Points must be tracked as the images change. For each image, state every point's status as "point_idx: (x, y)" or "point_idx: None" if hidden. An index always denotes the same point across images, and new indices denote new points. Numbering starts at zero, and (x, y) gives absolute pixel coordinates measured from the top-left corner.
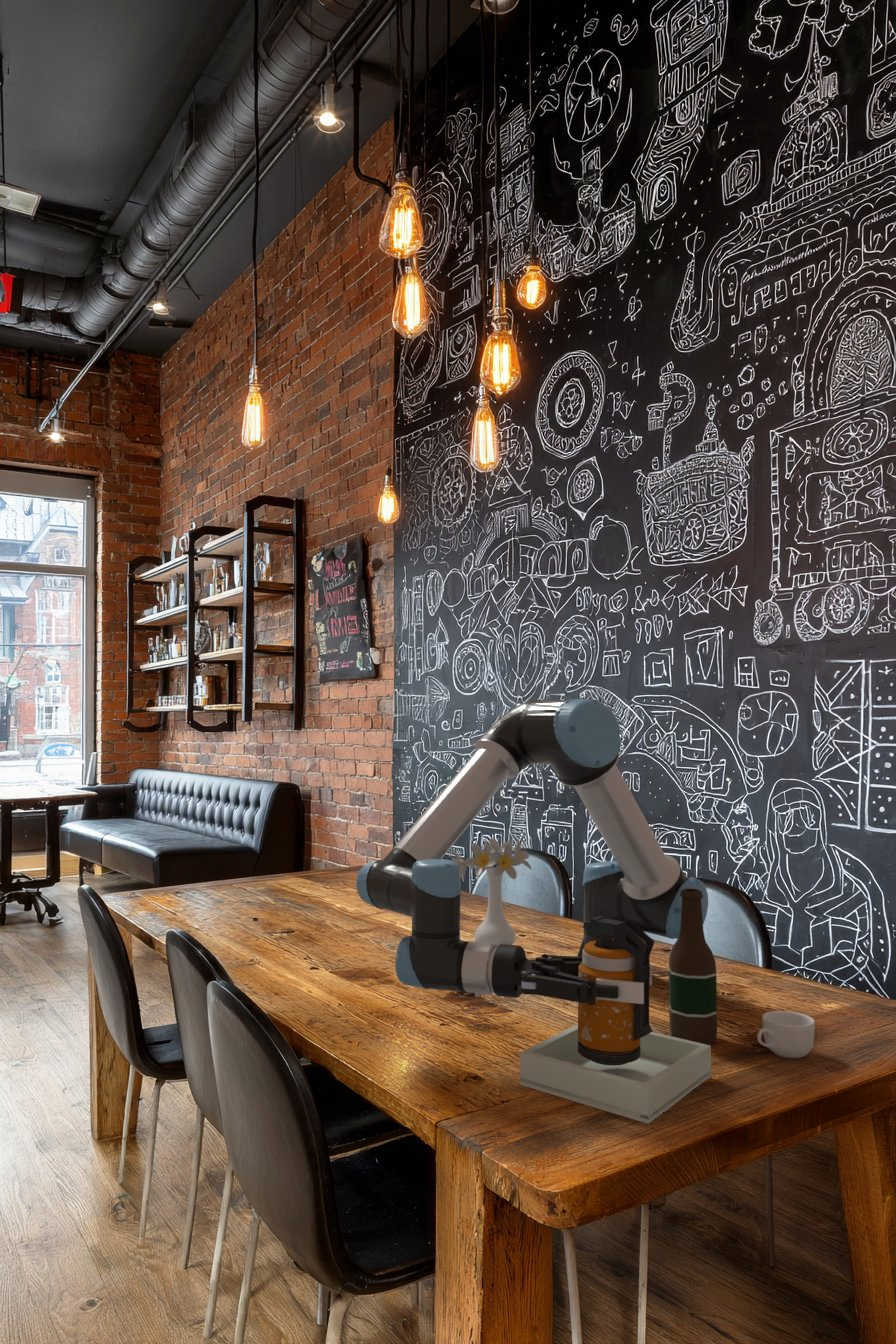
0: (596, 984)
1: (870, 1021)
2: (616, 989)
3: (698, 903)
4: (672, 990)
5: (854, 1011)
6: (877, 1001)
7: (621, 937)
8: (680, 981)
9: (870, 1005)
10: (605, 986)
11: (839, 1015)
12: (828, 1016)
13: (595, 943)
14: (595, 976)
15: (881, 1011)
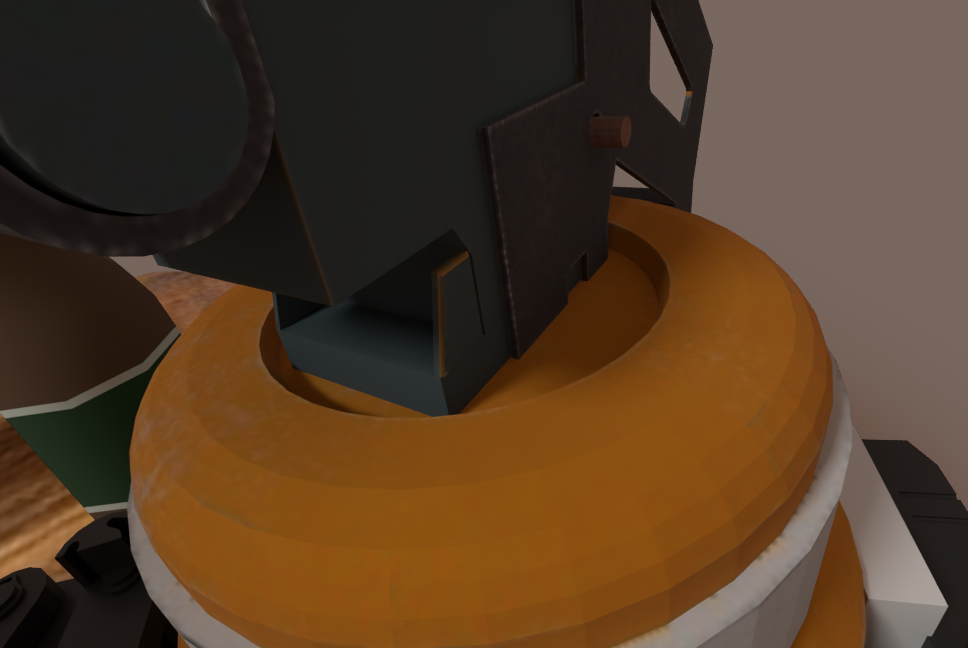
0: (938, 631)
1: (223, 281)
2: (910, 454)
3: None
4: (111, 450)
5: (173, 293)
6: (147, 276)
7: (634, 66)
8: (130, 398)
9: (159, 281)
10: (941, 532)
11: (181, 305)
12: (179, 314)
13: (344, 414)
14: (864, 609)
15: (189, 274)
